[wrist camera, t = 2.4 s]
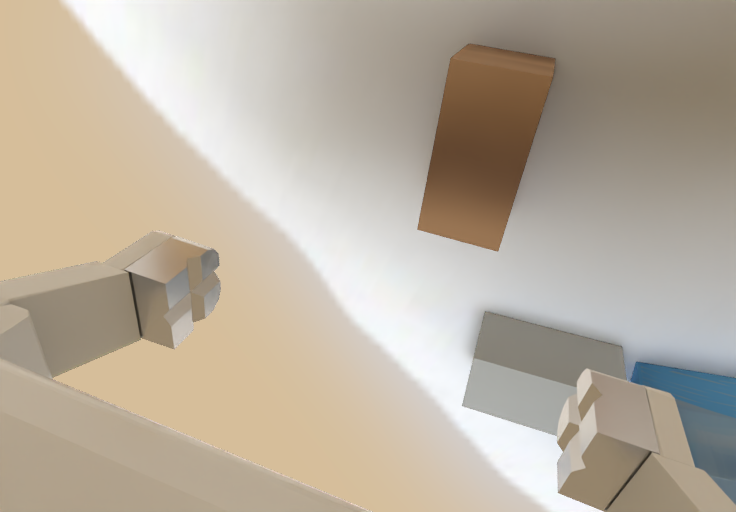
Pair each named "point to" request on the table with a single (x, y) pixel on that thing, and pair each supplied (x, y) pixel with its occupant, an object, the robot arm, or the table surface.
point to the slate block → (532, 370)
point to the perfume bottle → (701, 417)
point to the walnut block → (483, 142)
